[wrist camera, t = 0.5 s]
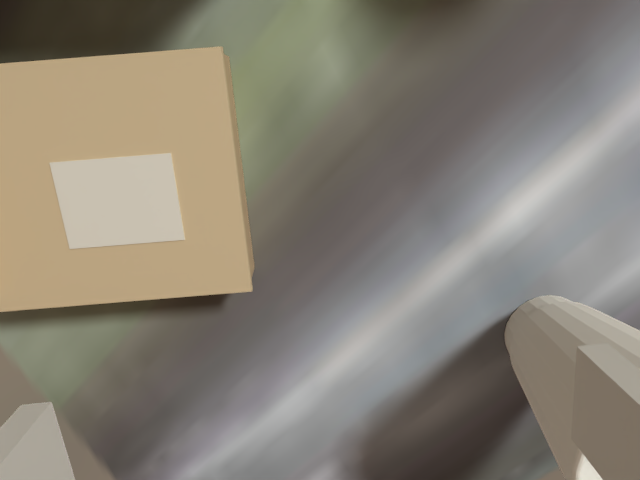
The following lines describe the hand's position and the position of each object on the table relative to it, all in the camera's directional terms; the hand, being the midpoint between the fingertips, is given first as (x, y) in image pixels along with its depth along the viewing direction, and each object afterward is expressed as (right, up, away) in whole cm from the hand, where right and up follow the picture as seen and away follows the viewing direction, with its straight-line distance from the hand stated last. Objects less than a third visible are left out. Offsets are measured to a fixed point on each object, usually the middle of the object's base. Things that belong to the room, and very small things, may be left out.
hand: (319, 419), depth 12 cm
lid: (-16, +8, +21) cm, 27 cm away
